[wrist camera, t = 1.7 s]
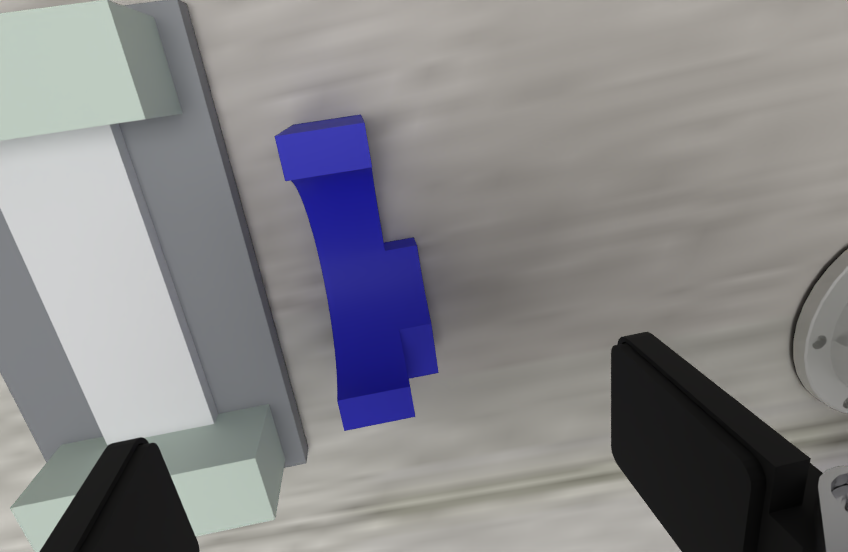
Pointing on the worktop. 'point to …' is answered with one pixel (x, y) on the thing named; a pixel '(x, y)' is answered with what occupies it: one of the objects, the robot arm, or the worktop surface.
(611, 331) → the worktop surface
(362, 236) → the cable clip
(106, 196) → the board
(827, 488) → the robot arm
